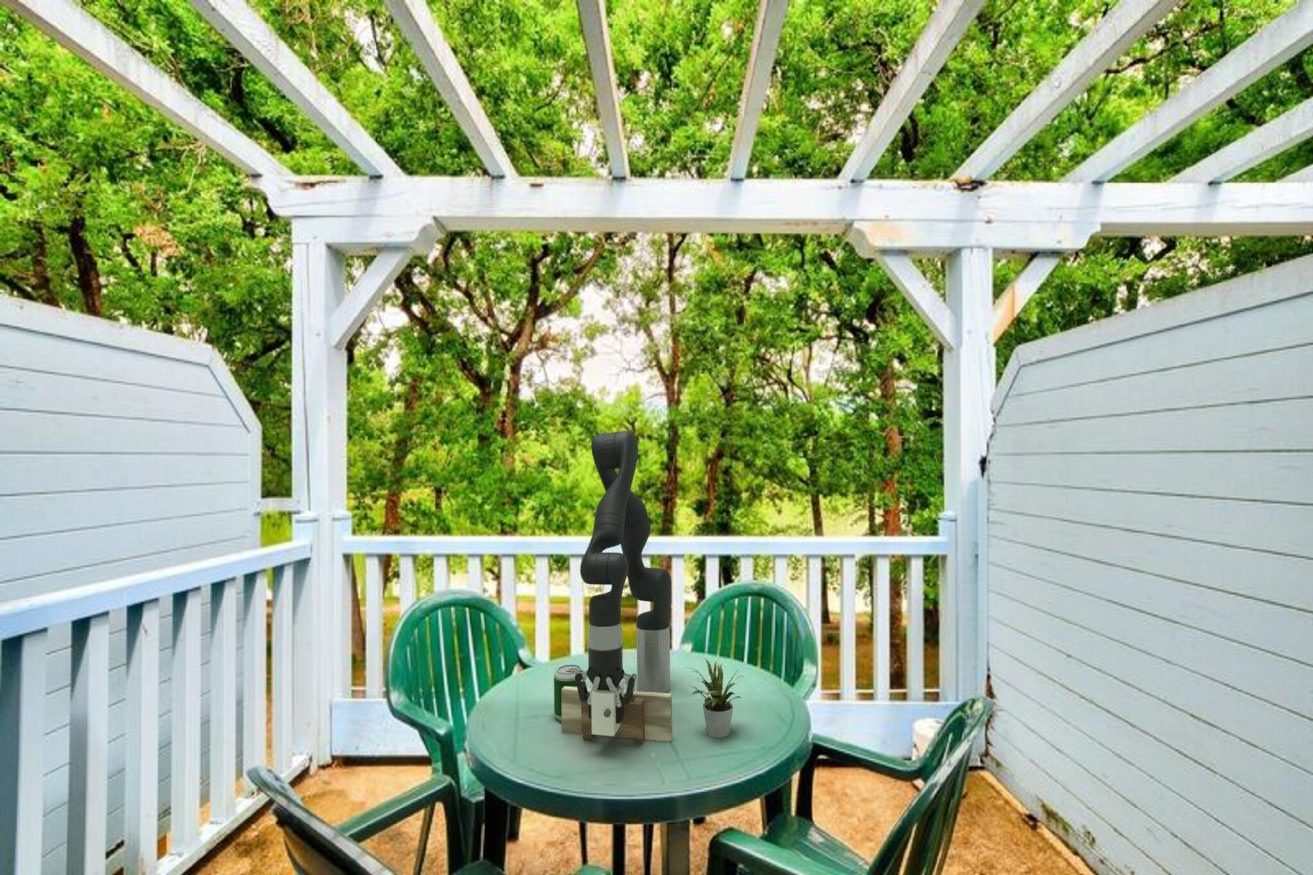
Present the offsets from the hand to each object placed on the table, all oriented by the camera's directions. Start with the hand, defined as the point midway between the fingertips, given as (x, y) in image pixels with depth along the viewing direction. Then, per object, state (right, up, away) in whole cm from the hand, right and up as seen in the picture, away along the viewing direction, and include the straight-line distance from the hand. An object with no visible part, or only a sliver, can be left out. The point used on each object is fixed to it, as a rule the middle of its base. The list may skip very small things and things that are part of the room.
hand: (606, 720), depth 131 cm
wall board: (+1, -7, +6) cm, 9 cm away
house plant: (+25, -7, +9) cm, 27 cm away
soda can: (-11, -7, +17) cm, 21 cm away
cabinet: (0, -2, +1) cm, 2 cm away
